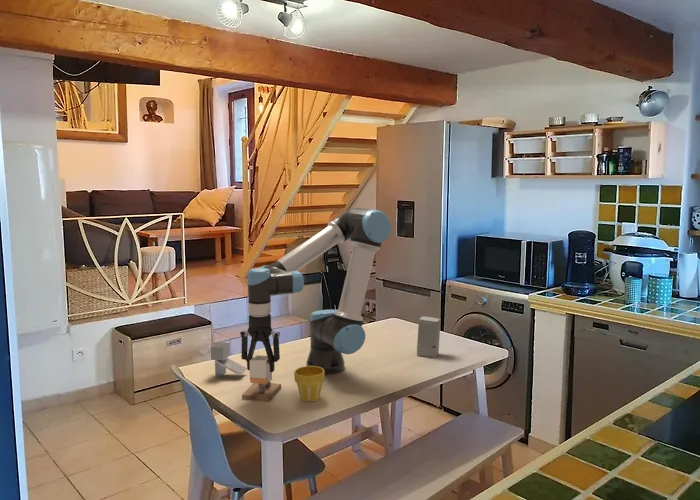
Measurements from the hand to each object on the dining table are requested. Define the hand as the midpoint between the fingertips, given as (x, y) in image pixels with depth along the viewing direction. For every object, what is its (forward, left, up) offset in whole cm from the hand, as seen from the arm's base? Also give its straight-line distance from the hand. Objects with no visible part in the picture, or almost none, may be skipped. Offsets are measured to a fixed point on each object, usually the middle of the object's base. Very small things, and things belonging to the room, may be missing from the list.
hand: (261, 379), depth 192 cm
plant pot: (-17, -3, -6) cm, 18 cm away
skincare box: (-54, -57, -6) cm, 78 cm away
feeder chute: (+18, -17, -6) cm, 26 cm away
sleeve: (0, 0, 0) cm, 0 cm away
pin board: (+1, -3, -6) cm, 7 cm away
